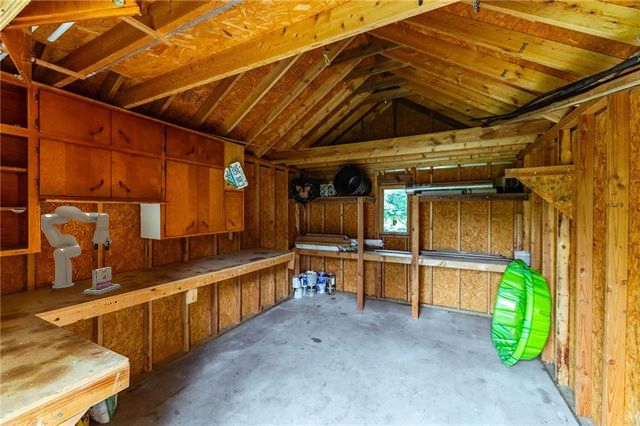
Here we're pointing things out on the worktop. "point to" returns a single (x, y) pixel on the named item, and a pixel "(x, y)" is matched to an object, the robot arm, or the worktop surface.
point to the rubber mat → (103, 292)
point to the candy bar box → (102, 278)
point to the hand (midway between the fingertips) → (101, 250)
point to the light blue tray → (101, 290)
